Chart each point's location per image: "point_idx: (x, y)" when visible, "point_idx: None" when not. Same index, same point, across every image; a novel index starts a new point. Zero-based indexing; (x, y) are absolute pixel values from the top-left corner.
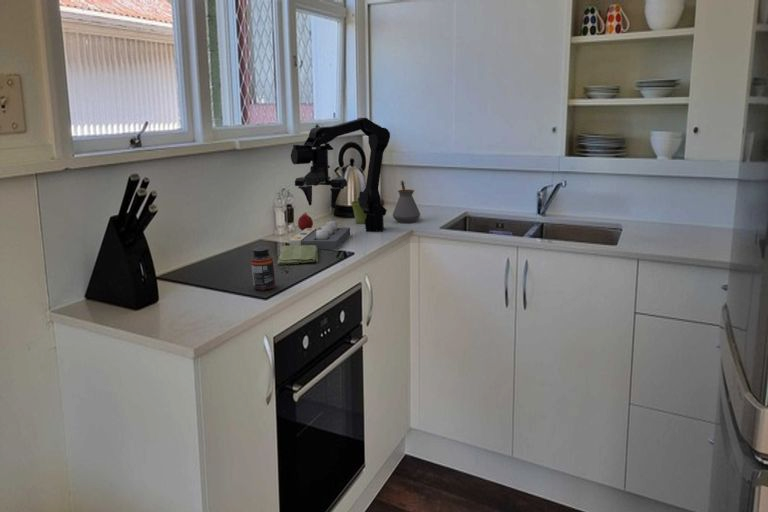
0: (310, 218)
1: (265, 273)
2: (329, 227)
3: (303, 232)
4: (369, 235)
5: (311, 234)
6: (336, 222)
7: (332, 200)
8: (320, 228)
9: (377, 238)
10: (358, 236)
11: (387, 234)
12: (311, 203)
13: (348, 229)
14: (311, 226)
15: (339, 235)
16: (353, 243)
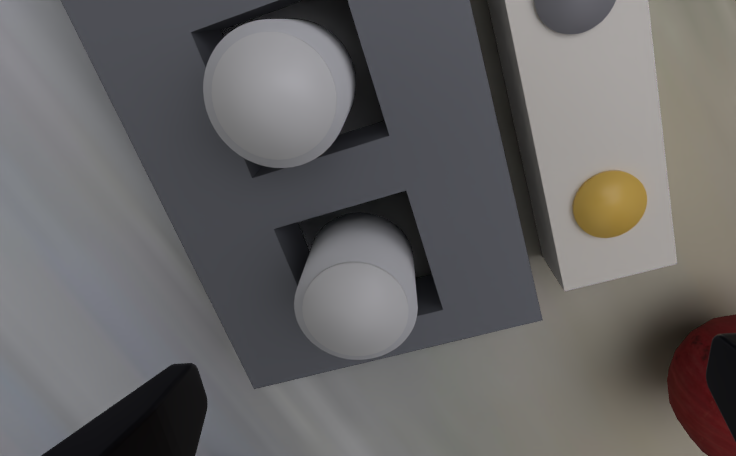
0: (721, 438)
1: None
2: (212, 67)
3: (611, 69)
4: (132, 379)
5: (460, 3)
6: (310, 334)
7: (84, 447)
8: (510, 290)
9: (11, 317)
10: (188, 332)
11: (37, 432)
12: (721, 406)
13: (229, 335)
14: (668, 376)
15: (121, 66)
16: (57, 109)
